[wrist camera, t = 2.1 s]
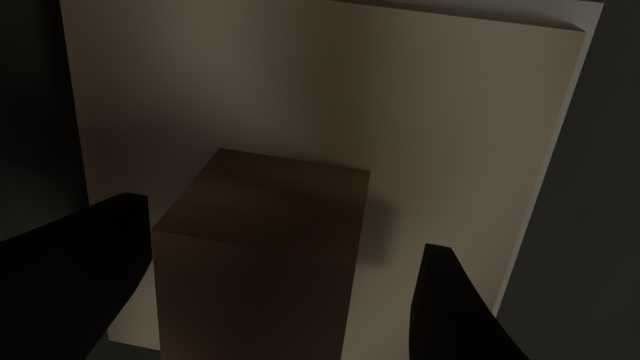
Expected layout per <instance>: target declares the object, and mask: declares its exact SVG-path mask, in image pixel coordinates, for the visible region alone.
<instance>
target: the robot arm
mask: <svg viewBox="0 0 640 360" xmlns="http://www.w3.org/2000/svg"><path fill="white" fill-rule="evenodd" d="M152 260H153V257H152V245H151V232H150V220H149V207H148V196H147V195H141V194H135V193H129V192H124V193H121V194H118V195H115V196H112V197H110V198H107V199H105V200H103V201H100V202H98V203H95V204H93V205H91V206H89V207H86V208H84V209H82V210H79V211H77V212H75V213H72V214H70V215H68V216H65V217H63V218H61V219H58V220H56V221H54V222H51V223H49V224H46V225H44V226H41V227H39V228H36V229H34V230H31V231H28V232H26V233H23V234H21V235H18V236H16V237H13V238H10V239H8V240H5V241H2V242H0V360H84V359H85V358H86V357H87V355H88V354H89V353H90V351H91V350H92V349H93V347H94V346H95V345H96V343H97V342H98V341H99V339H100V338H101V337H102V335H103V334H104V333H105V331H106V330H107V329H108V327H109V326H110V325H111V323H112V322H113V321H114V319H115V318H116V317H117V315H118V314H119V313H120V311H121V310H122V309H123V307H124V306H125V305H126V303H127V302H128V301H129V299H130V298H131V296H132V295H133V294H134V292H135V291H136V289H137V287H138V286H139V284H140V282H141V280H142V279H143V277H144V275H145V273H146V271H147V269H148V267H149V265H150V263H151V261H152ZM409 360H530V359H529V358H528V357H527V356H526V355H525V354H524V353H523V352H522V351H521V349H520V348H519V347H518V346H517V345H516V344H515V343H514V341H513V340H512V339H511V338H510V337H509V335H508V334H507V333H506V332H505V330H504V329H503V328H502V326H501V325H500V324H499V322H498V321H497V320H496V318H495V317H494V315H493V314H492V313H491V311H490V310H489V308H488V307H487V305H486V304H485V302H484V301H483V299H482V298H481V296H480V295H479V293H478V292H477V290H476V289H475V287H474V285H473V284H472V282H471V280H470V279H469V277H468V275H467V274H466V272H465V270H464V269H463V267H462V265H461V263H460V262H459V260H458V258H457V256H456V255H455V253H454V251H453V250H452V248H451V247H446V246H440V245H435V244H429V243H425V248H424V252H423V256H422V260H421V265H420V269H419V273H418V277H417V282H416V286H415V290H414V294H413V299H412V303H411V309H410V324H409Z"/></svg>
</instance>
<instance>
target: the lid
mask: <svg viewBox="0 0 640 360" xmlns="http://www.w3.org/2000/svg"><path fill="white" fill-rule="evenodd" d="M60 6H61V13H62V19H63V26H64V33H65V40H66V47H67V54H68V61H69V68H70V75H71V81H72V88H73V95H74V102H75V109H76V116H77V123H78V130H79V136H80V143H81V150H82V157H83V164H84V171H85V178H86V185H87V192H88V198H89V205H90V206H91V205H93V204H95V203H98V202H100V201H103V200H105V199H107V198H110V197H112V196H115V195H118V194H121V193H124V192H129V193H135V194H141V195H147V196H148V207H149V220H150V232H151V245H152V257H153V260H152V261H151V263H150V265H149V267H148V269H147V271H146V273H145V275H144V277H143V279H142V280H141V282H140V284H139V286H138V287H137V289H136V291H135V292H134V294H133V295H132V296H131V298H130V299H129V301H128V302H127V303H126V305H125V306H124V307H123V309H122V310H121V311H120V313H119V314H118V315H117V317H116V318H115V319H114V321H113V322H112V323H111V325H110V326H109V327H108V336H109V340H111V341H116V342H121V343H126V344H131V345H136V346H141V347H146V348H151V349H156V350H160V354H161V360H409V324H410V309H411V303H412V299H413V294H414V290H415V286H416V282H417V277H418V273H419V269H420V265H421V260H422V256H423V252H424V248H425V243H429V244H435V245H440V246H446V247H451V248H452V250H453V251H454V253H455V255H456V256H457V258H458V260H459V262H460V263H461V265H462V267H463V269H464V270H465V272H466V274H467V275H468V277H469V279H470V280H471V282H472V284H473V285H474V287H475V289H476V290H477V292H478V293H479V295H480V296H481V298H482V299H483V301H484V302H485V304H486V305H487V307H488V308H489V310H490V311H491V313H492V311H493V308H494V305H495V302H496V299H497V296H498V293H499V290H500V287H501V284H502V281H503V278H504V275H505V272H506V270H507V267H508V264H509V261H510V258H511V255H512V252H513V249H514V246H515V243H516V240H517V237H518V234H519V231H520V228H521V225H522V222H523V219H524V216H525V213H526V210H527V207H528V204H529V201H530V199H531V196H532V193H533V190H534V187H535V184H536V181H537V178H538V175H539V172H540V169H541V166H542V163H543V160H544V157H545V154H546V151H547V148H548V145H549V142H550V139H551V136H552V133H553V130H554V127H555V125H556V122H557V119H558V116H559V113H560V110H561V107H562V104H563V101H564V98H565V95H566V92H567V89H568V86H569V83H570V80H571V77H572V74H573V71H574V68H575V65H576V62H577V59H578V56H579V54H580V51H581V48H582V45H583V42H584V39H585V36H586V33H587V32H586V31H584V30H582V29H581V28H579V27H578V26H576V25H574V24H572V23H564V22H555V21H547V20H539V19H531V18H522V17H514V16H506V15H498V14H490V13H481V12H473V11H465V10H457V9H449V8H440V7H432V6H424V5H416V4H408V3H399V2H391V1H383V0H60Z"/></svg>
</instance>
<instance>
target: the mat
mask: <svg viewBox="0 0 640 360" xmlns="http://www.w3.org/2000/svg"><path fill="white" fill-rule="evenodd" d="M383 1H391V2H399V3H408V4H416V5H424V6H432V7H440V8H449V9H457V10H465V11H473V12H481V13H490V14H498V15H506V16H514V17H522V18H531V19H539V20H547V21H555V22H564V23H572V24H574V25H576V26H578V27H579V28H581V29H582V30H584V31H586V32H587V33H586V36H585V39H584V42H583V45H582V48H581V51H580V54H579V56H578V59H577V62H576V65H575V68H574V71H573V74H572V77H571V80H570V83H569V86H568V89H567V92H566V95H565V98H564V101H563V104H562V107H561V110H560V113H559V116H558V119H557V122H556V125H555V127H554V130H553V133H552V136H551V139H550V142H549V145H548V148H547V151H546V154H545V157H544V160H543V163H542V166H541V169H540V172H539V175H538V178H537V181H536V184H535V187H534V190H533V193H532V196H531V199H530V201H529V204H528V207H527V210H526V213H525V216H524V219H523V222H522V225H521V228H520V231H519V234H518V237H517V240H516V243H515V246H514V249H513V252H512V255H511V258H510V261H509V264H508V267H507V270H506V272H505V275H504V278H503V281H502V284H501V287H500V290H499V293H498V296H497V299H496V302H495V305H494V308H493V311H492V314H493V315H494V317H495V318H496V315H497V312H498V309H499V306H500V303H501V301H502V298H503V295H504V292H505V289H506V286H507V283H508V280H509V277H510V274H511V272H512V269H513V266H514V263H515V260H516V257H517V254H518V251H519V248H520V245H521V243H522V240H523V237H524V234H525V231H526V228H527V225H528V222H529V219H530V216H531V214H532V211H533V208H534V205H535V202H536V199H537V196H538V193H539V190H540V187H541V185H542V182H543V179H544V176H545V173H546V170H547V167H548V164H549V161H550V158H551V155H552V153H553V150H554V147H555V144H556V141H557V138H558V135H559V132H560V129H561V126H562V124H563V121H564V118H565V115H566V112H567V109H568V106H569V103H570V100H571V97H572V95H573V92H574V89H575V86H576V83H577V80H578V77H579V74H580V71H581V68H582V66H583V63H584V60H585V57H586V54H587V51H588V48H589V45H590V42H591V39H592V37H593V34H594V31H595V28H596V25H597V22H598V19H599V16H600V13H601V10H602V8H603V5H604V3H602V2H599V1H597V0H383Z"/></svg>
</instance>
